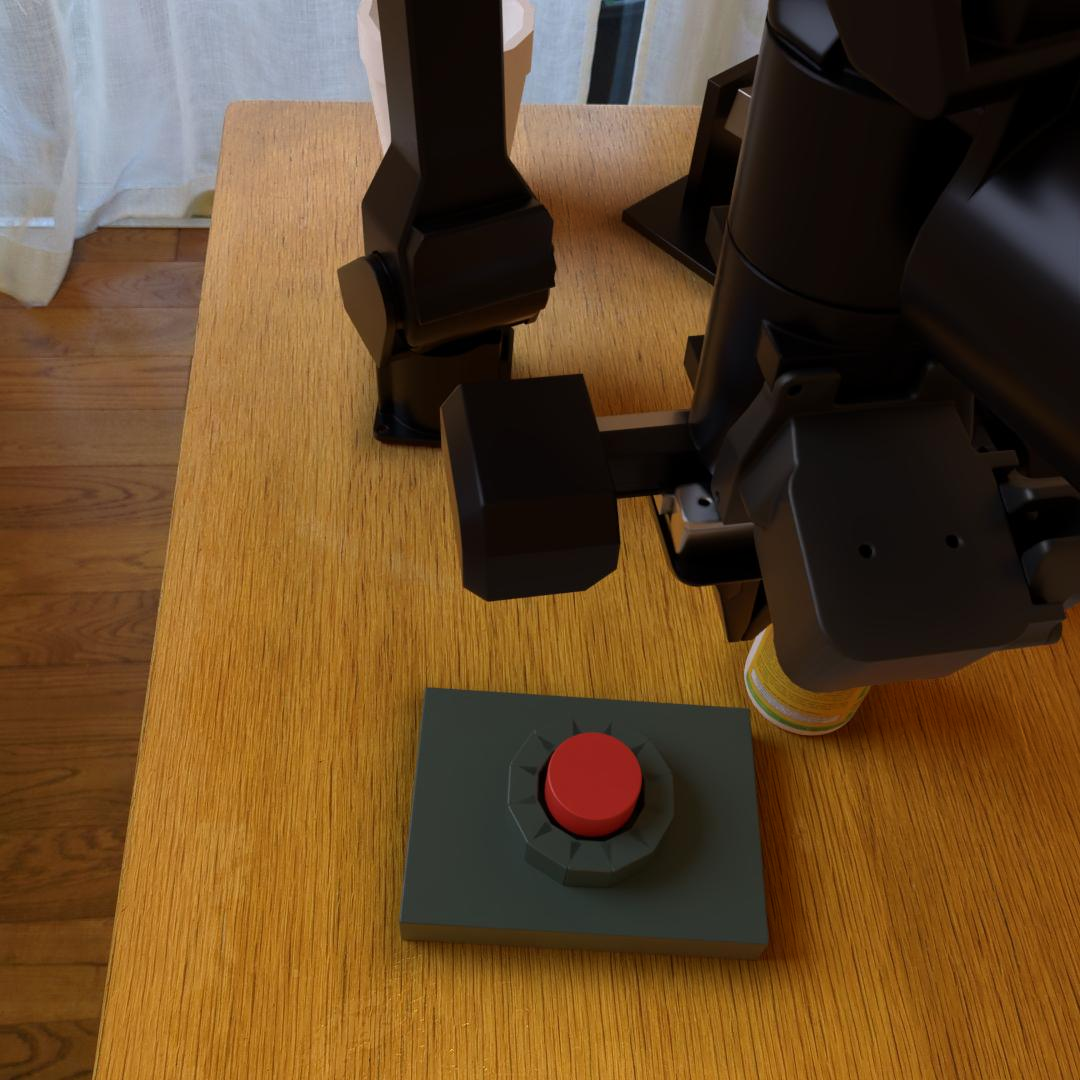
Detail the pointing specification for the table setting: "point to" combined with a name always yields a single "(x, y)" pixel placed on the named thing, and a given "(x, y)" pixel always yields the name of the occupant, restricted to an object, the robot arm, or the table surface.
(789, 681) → the supplement bottle
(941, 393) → the robot arm
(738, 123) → the lever
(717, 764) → the button block
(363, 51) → the white flower pot
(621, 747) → the button
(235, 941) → the table surface
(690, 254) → the bracket
